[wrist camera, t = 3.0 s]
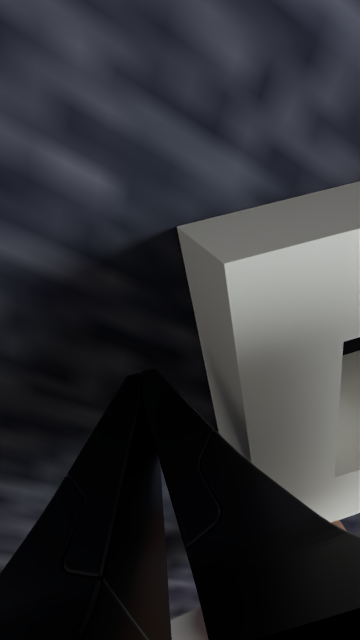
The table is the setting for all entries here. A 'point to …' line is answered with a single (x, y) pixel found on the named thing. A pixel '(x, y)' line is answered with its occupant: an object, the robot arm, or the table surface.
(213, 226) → the hole block
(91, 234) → the table surface
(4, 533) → the table surface
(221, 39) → the table surface
